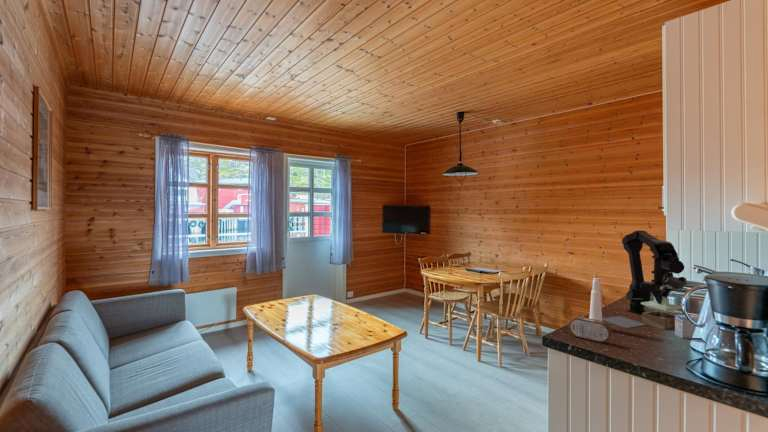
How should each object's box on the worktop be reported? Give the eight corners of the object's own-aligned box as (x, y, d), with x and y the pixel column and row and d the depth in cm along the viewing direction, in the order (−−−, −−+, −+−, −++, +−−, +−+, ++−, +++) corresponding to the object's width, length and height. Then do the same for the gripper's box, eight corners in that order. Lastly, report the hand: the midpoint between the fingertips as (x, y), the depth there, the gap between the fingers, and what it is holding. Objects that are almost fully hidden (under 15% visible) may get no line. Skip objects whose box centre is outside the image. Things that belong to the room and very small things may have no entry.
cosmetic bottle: (589, 328, 153) (589, 279, 152) (586, 324, 159) (587, 276, 158) (605, 330, 151) (605, 280, 150) (601, 325, 157) (602, 277, 156)
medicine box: (694, 335, 145) (695, 314, 145) (703, 339, 140) (703, 318, 140) (674, 334, 146) (674, 314, 145) (682, 338, 141) (682, 317, 141)
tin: (612, 343, 137) (612, 322, 136) (610, 345, 134) (610, 324, 134) (570, 333, 147) (570, 314, 147) (568, 335, 145) (568, 315, 144)
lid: (657, 305, 164) (657, 293, 164) (682, 311, 154) (682, 298, 154) (640, 307, 161) (640, 294, 161) (665, 313, 151) (666, 300, 151)
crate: (656, 320, 164) (657, 310, 164) (680, 327, 155) (680, 317, 154) (641, 322, 161) (641, 312, 161) (665, 329, 151) (665, 319, 151)
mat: (619, 316, 170) (619, 316, 170) (647, 325, 157) (647, 324, 157) (599, 319, 166) (599, 318, 166) (626, 328, 153) (626, 327, 153)
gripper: (666, 273, 147) (666, 310, 147) (696, 271, 152) (695, 306, 153) (640, 269, 157) (639, 303, 157) (668, 267, 163) (668, 300, 163)
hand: (661, 303), depth 157 cm, fingers closed on lid
